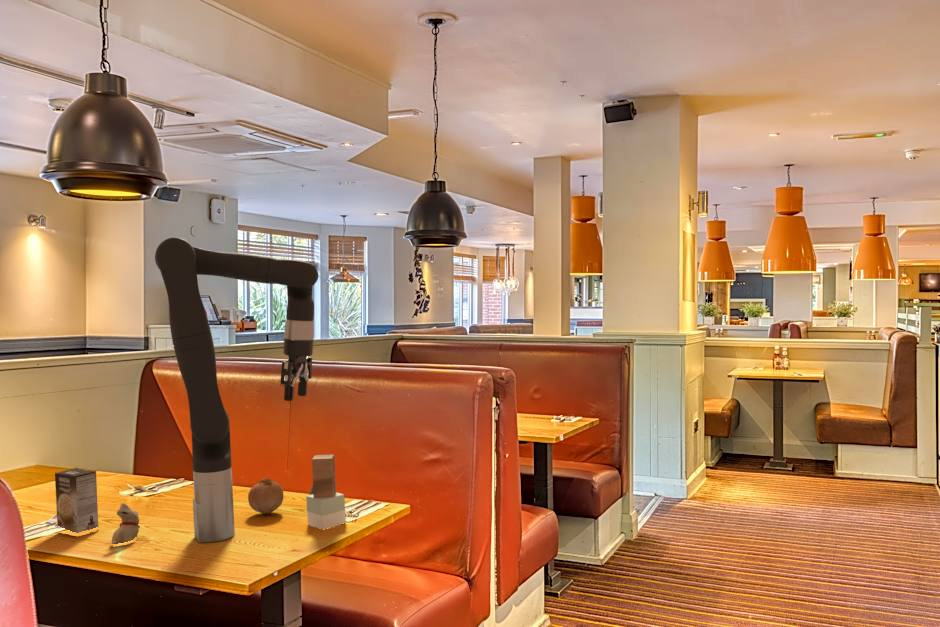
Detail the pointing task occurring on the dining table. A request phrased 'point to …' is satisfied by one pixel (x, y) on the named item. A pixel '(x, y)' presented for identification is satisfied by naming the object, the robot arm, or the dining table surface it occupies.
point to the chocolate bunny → (126, 525)
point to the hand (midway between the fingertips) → (295, 398)
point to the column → (323, 476)
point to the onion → (265, 496)
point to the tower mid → (325, 504)
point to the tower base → (326, 519)
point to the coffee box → (76, 499)
